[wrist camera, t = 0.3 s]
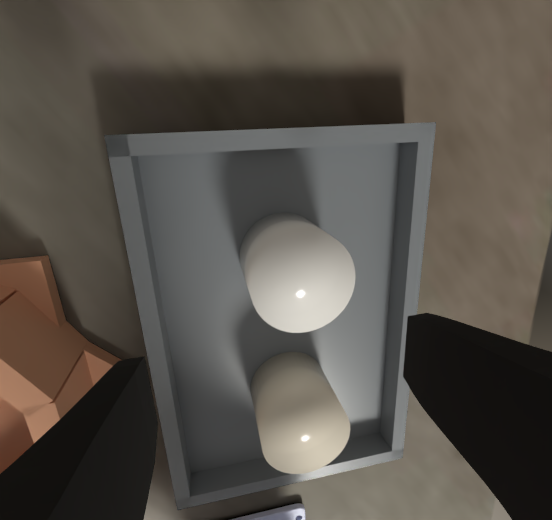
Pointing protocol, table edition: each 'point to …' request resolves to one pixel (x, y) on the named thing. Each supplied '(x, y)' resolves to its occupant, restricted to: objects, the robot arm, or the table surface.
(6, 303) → the terracotta bowl
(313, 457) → the beige rounded capsule
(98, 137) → the table surface
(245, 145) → the parts tray
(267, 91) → the table surface
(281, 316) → the white rounded capsule
